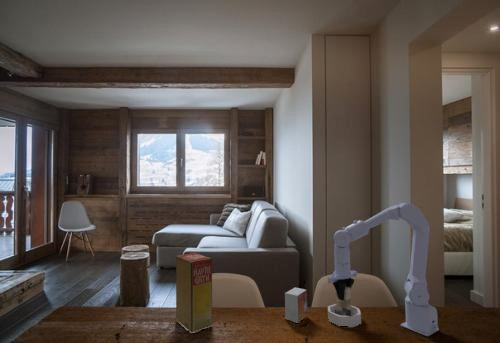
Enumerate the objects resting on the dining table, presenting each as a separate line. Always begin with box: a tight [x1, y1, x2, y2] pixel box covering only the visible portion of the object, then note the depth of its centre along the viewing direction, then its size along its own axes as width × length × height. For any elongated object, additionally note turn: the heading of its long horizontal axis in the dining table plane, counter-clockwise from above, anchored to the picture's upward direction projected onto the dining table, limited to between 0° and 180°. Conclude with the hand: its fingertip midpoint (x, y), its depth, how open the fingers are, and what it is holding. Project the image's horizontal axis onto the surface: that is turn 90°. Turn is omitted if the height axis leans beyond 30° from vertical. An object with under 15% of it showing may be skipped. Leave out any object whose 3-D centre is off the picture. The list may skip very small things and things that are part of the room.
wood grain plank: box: [335, 286, 352, 309], centre depth 114 cm, size 5×2×8 cm, turn 33°
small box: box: [284, 287, 308, 324], centre depth 115 cm, size 8×6×10 cm
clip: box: [335, 307, 353, 316], centre depth 114 cm, size 4×6×3 cm
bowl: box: [327, 303, 362, 328], centre depth 114 cm, size 12×12×4 cm
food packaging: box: [175, 252, 213, 332], centre depth 113 cm, size 13×9×25 cm
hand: (343, 298), depth 114 cm, fingers closed on wood grain plank, 2 cm apart
